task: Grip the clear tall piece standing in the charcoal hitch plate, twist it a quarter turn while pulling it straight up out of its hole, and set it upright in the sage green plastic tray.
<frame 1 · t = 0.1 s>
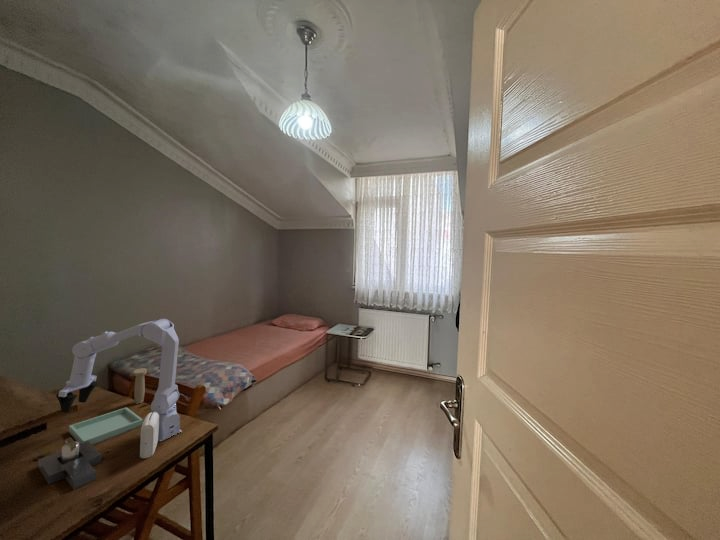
hand: (74, 406, 109), 11 cm above the table, tool pointing down, fingers open, 7 cm apart
hitch plate: (70, 464, 94), on the table
tray: (107, 428, 114), on the table
handle: (139, 403, 135), on the table
photo printer: (149, 450, 104), on the table
clear tall piece: (70, 453, 94), in the hitch plate
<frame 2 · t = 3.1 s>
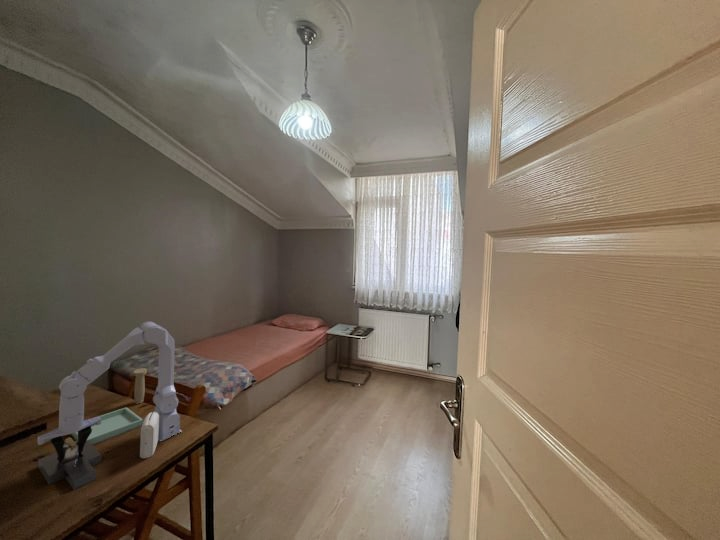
hand: (70, 455, 94), 3 cm above the table, tool pointing down, fingers closed on clear tall piece, 4 cm apart
clear tall piece: (70, 453, 94), in the hitch plate, touching gripper
everything else where it was.
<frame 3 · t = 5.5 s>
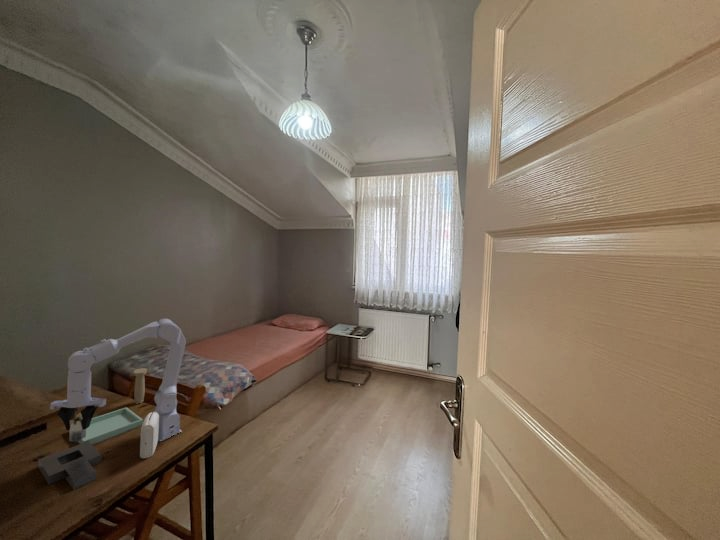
hand: (78, 428, 97), 10 cm above the table, tool pointing down, fingers closed on clear tall piece, 4 cm apart
clear tall piece: (78, 426, 97), point 11 cm above the table, touching gripper
everything else where it was.
when the fingers open (5 cm above the table, at t = 8.2 s): clear tall piece drops 1 cm, resting on tray.
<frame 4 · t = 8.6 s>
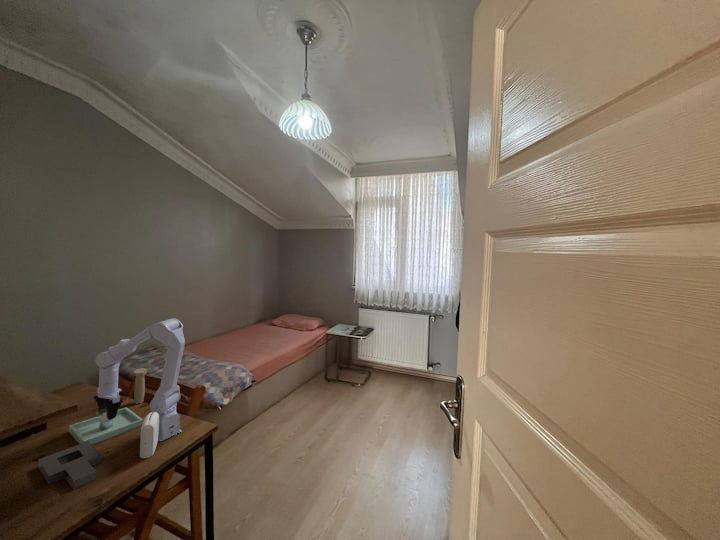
hand: (107, 415, 114), 5 cm above the table, tool pointing down, fingers open, 7 cm apart
clear tall piece: (106, 417, 114), in the tray, point 4 cm above the table
everything else where it was.
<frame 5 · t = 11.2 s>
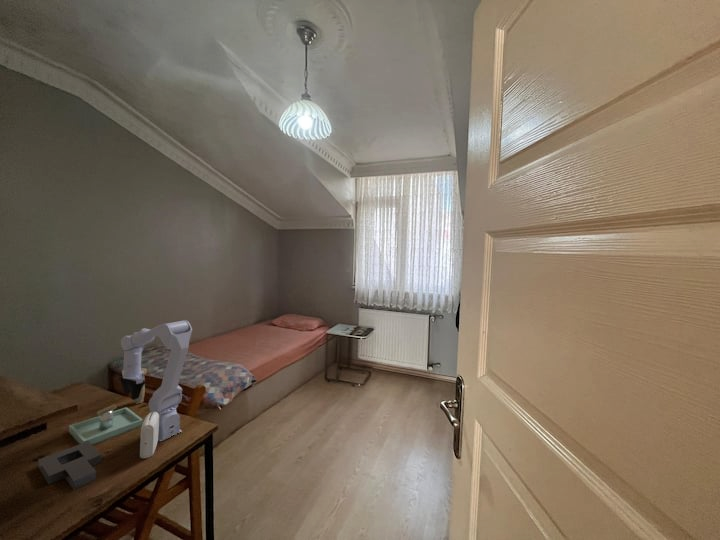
hand: (131, 395, 121), 10 cm above the table, tool pointing down, fingers open, 7 cm apart
nothing on the table moved.
at the end: clear tall piece inside the target area on the tray (0.3 cm from its centre), point 4.5 cm above the tray's base; the gripper is holding nothing; clear tall piece tilted 2° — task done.
